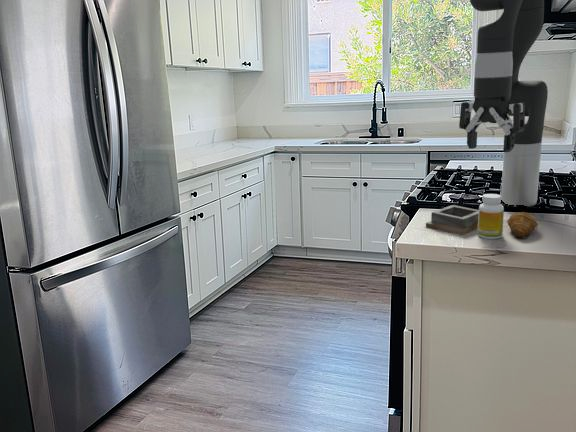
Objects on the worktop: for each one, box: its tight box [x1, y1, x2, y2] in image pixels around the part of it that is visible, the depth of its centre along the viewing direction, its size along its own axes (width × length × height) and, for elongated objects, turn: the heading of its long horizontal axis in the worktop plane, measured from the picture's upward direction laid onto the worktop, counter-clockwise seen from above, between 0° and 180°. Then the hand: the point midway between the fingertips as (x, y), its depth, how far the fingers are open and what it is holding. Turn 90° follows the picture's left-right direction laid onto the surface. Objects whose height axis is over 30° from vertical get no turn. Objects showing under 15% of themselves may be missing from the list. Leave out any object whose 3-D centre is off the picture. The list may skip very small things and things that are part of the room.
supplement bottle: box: [477, 193, 505, 240], centre depth 119 cm, size 5×5×10 cm
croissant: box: [506, 211, 539, 240], centre depth 122 cm, size 14×7×5 cm, turn 153°
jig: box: [425, 204, 479, 236], centre depth 129 cm, size 12×10×4 cm
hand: (489, 149), depth 115 cm, fingers open, 8 cm apart
